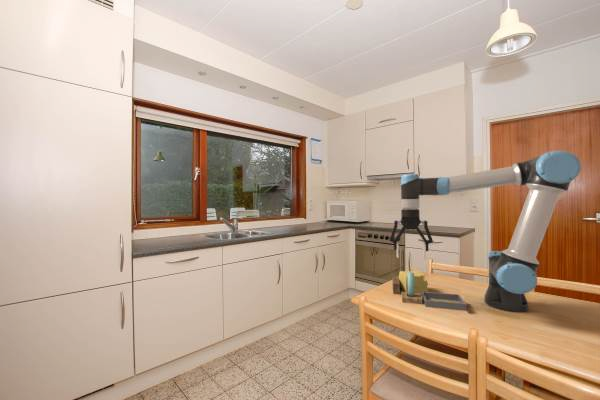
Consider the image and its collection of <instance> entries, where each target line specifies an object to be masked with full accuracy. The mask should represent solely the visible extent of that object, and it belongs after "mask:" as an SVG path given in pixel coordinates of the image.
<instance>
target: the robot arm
mask: <svg viewBox="0 0 600 400" xmlns="http://www.w3.org/2000/svg"><path fill="white" fill-rule="evenodd" d="M581 170H582V164H581V161H580V159H579V157H577V156H576V155H575V154H574V153H572V152H569V151H566V150H553V151H552V150H551V151H547V152H546V153H545V152H544V153H543V154H542V155H539V156H536V157H533V158H531V159H528V160H525V161H521V162H516V163H513V164H512V165H511V166H507V167H501V168H494V169H489V170H481V171H476V172H471V173H464V174H460V175H453V176H448V177H441V176H439V177H427V178H423V177H420V175H419V174H417V173H407V174H403V175H401V176H400V177H401V178H400V179H401V180H400V181H401V183H400V197H401V198H400V199H401V200H400V203H401V207H400V208H401V215H400V217H401V218H400V220H397V219H395V220H394V221H393V223H394V224H393V228H392V231H391V234H390V237H389V242H390V243H393V249H394V251H396V258H397V259H399V257H400V255H399V249H400V247H399V242H398V241H399V239H400V238H401V237H402V235H403V234H404V232H405V231H406V230H407V231H408V230H410V231H415V230H416V232H417V233H418V235H419V236H420V238H421V239H422V241H423V242H424V243H422V258H423V260H426V259H427V253H426V252H429V244H433V243H434V240H433V238H432V235H431V232H430V230H429V227H428V221H427V220H421V218H420V196H435V197H436V196H448V195H450V194H452V193H460V192H461V193H462V192H466V191H467V192H468V191H474V190H481V189H482V190H483V189H488V188H497V187H502V186H503V187H504V186H509V185H516V186H519V187H520V186H526V187H527V188H528V189H529V190H528V193H527V195H526V198H525V202H524V203H523V207H522V210H521V212H520V215H519V217H518V220H517V223H516V226H515V229H514V230H513V234H512V237H511V239H510V243H509V245H508V246H507V247H508V248H507V249H504V250H502V251H501V250H500V251H499V250H492V251H489V252H488V258H487V259H488V286H487V289H486V291H485V294H484V300H483V301H484V303H485V304H486V305H488V306H489V307H492V308H496V309H498V310H502V311H507V312H516V313H517V312H518V313H521V312H523V313H524V312H527V311H528V310H529V302H528V300H527V297H526V294H528V293H530V292H532V291H533V290H534V289H535V288H536V287H537V284H538V276H537V271H538V268H539V266H540V261H539V260H538V259H537V255H538V253H539V250H540V248H541V246H542V245H541V244H542V242H543V239H544V236H546V235H545V234H546V232H547V229H548V226H549V224H550V221H551V219H552V215H553V213H554V210H555V207H556V206H557V202H558V201H559V198H560V196H561V195H563V194H566V193H567V192H568V190H569V188H570V184H571V182H572V181H574V180H575V179H576V178H577V177H578V176H579V175H580V173H581ZM400 224H401V225H402V227H401V229H400V230H399V232H398V234H397V235H396V231H397V229H398V226H399V225H400ZM420 225H422V226H423V228H424V231H425V234H426V236H427V238H426V237H425V235H424V233H423V231H421V229H420V228H419V226H420ZM395 235H396V236H395ZM394 237H395V238H394Z"/></svg>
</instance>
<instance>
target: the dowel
mask: <svg viewBox="0 0 600 400" xmlns="http://www.w3.org/2000/svg"><path fill="white" fill-rule="evenodd" d="M407 274H408V297H415V289H414V273H412V272H408V273H407Z"/></svg>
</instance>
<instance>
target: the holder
mask: <svg viewBox="0 0 600 400" xmlns="http://www.w3.org/2000/svg"><path fill="white" fill-rule="evenodd" d="M400 295H401V296H400V297H401V302H402V303H404V304H406V303H407V304H416V305H423V299H422V295H420V293H415V297H408V292H403V291H400Z"/></svg>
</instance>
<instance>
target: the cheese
mask: <svg viewBox="0 0 600 400" xmlns="http://www.w3.org/2000/svg"><path fill="white" fill-rule="evenodd" d="M408 272H412V273H414V289H415V293H420V295H421V296H422V292H429V289H428V285H429V284H428V280H427V278H426V275H425V274H424V273H423V272H422V271H421V270H410V271H408V270H407V271H405V270H404V271H403V270H402V271H401V270H400V271H399V274H398V277H399V282H400V291H401V292H408V274H407V273H408Z"/></svg>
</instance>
